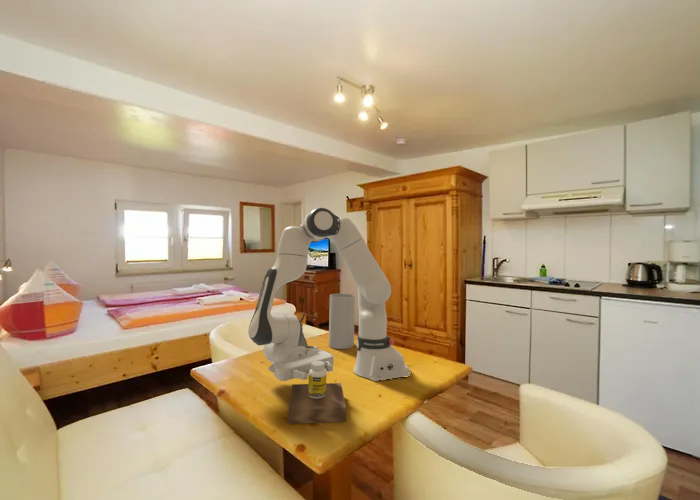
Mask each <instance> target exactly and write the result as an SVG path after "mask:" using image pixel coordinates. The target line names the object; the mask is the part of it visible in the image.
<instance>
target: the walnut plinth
mask: <svg viewBox="0 0 700 500" xmlns="http://www.w3.org/2000/svg"><path fill="white" fill-rule="evenodd" d="M308 384H309V383H299V384H296V383H295V384H293V383H292V384H291V389H290V397H289V405H288V410H287V411H288V413H287V414H288V417H287V419H288V421H287V424H288V425H298V424H299V425H300V424H320V423H321V424H322V423H323V424H324V423H326V424H327V423H344V422H343V421H346V422H347V405H346V400H345V396H344V391H343V386H342V382H334V383H332V382H330V383H328V382H326V395H325V396H324V397H323V398H319V399H314V398H311V397H309V395H308Z"/></svg>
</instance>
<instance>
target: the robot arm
mask: <svg viewBox="0 0 700 500" xmlns="http://www.w3.org/2000/svg"><path fill="white" fill-rule="evenodd" d="M326 238H327V239H329V240H330V241H331V242H332V243H333V245H334V246H335V248H336V249H337V251H338V254H339V256H340V257H341V260H342V261H343V263H344V264H345V265H344V266H346V269H347V270H348V272H349V273H350V275H351V277H352V279H353V280H354V283H356V285H357V302H358V303H357V304H358V334H357V338H356V349H357V353H356V360H355V363H354V368H353V372H354V373H355V375H357V376H360V377H362V378H366V379H369V380H371V381H373V382H380V381H379V380H381V381H387V380H386V379H390V380H393V379H392V378H397V377H404V376H409V375H410V374H411V375H412V373H411V372H412V371H411V369H410V367H409V366H408V365H406V361H405V357H404V356H403V355H402V353H401V352H399V351H398V350H397V349H396V348H395V347H394V345H395V340H394V339H393V338H391V337H390V336H388V335H387V325H388V324H387V323H388V322H387V321H388V316H387V311H386V302H387V301H388V300H389V298H390V297H391V296H392V295H391V294H392V286H391V283H390V281H389V280H388V278H387V277H386V274H385V272H384V271H383V269H382V268H381V267H380V265H379V264H378V262H377V260H376V258H374V256H373V254H372V252H371V251H370V249H369V247H368V245H367V243H366V241H365V239H364V237H363V236H362V234H361V232H360V231H359V229H358V228H357V226H356V225H355V224H354V222H353V220H351V219H350V218H348V217H344V216H343V217H339V216H337V215H336V214H334V212H332V211H331V210H330V209H328V208H326V207H318V208H314V209H313V210H311V211H310V212H309V213H308V214H306V216H304V218H303V220H302V221H301V223H300V224H299V225H298V226H296V225H290V226H287V227H285V228H284V229H283V230H282V232H281V235H280V239H279V242H278V248H277V254H276V260H275V262H274V264H273V266H272V267H271V268H268V270H266V273H265V275H264V277H263V278H264V279H263V281H262V285H261V288H260V292H259V296H258V299H257V302H256V303H257V304H256V307H255V311H254V314H253V316H252V318H251V320H250V322H249V326H248V336H249V338H250V340H251V341H252V342H253V343H254V344H256V345H257V346H263V347H262V348H263V354H264V356H265V358H266V359H267V360H268V361H269V362H270V363H271V365H269V367H268V371H270V372H271V373H273V376H274V377H275V378H276V379H277V380H278V381H280V382H286V381H289V380H294V379H298V380H302V381H304V380H309V371H310V370H311V369H312V368H311V363H312V362H314V361H322V362H324V363H325V367H324V369H325V370H326V372H328V373H331V372H333V371H334V364H335V363H334V361H335V359H334V355H333V354H332V353H330V352H327V351H325V350H323V349H320V348H319V349H318V346H316V345H309V346H298V345H299V342H300V340H301V337H302V332H303V329H304V327H303V326H302V324H303V323H302V324H301V322H300V320H301V319H299V317H298V316H297V315H295V314H271V311H272V307H273V304H274V301H275V296H276V294H277V291H278V289H279V288H280V287H282V286H284V285H285V284H287V283H290V282H293V281H296V280H298V279H300V278H301V277H302V276H303V275H304V274H305V272H306V270H307V267H308V257H309V256H308V255H309V247H310V244H314V243H317V242H320V241H323V240H325V239H326ZM408 372H409V373H408Z"/></svg>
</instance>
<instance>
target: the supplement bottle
mask: <svg viewBox="0 0 700 500" xmlns="http://www.w3.org/2000/svg"><path fill="white" fill-rule="evenodd" d="M324 367H325V363H324V362H322V361H314V362H312V363H311V368H312V369H311V370H310V371H309V374H308V383H307V384H308V395H309V397H311V398H314V399H319V398H323V397H324V396H325V395H326V383H327V371H326V369H324Z"/></svg>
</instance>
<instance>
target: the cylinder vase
mask: <svg viewBox="0 0 700 500" xmlns="http://www.w3.org/2000/svg"><path fill="white" fill-rule="evenodd" d="M355 307H356V295H355V294H351V293H333V294H332V293H331V294H330V295H329V310H328V311H329V313H328V314H329V319H328V320H329V322H328V325H329V326H328V346H329V347H330V348H332V349H335V350H348V349H351V348H353V347H354V345H355V314H356V313H355V312H356V310H355Z"/></svg>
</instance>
